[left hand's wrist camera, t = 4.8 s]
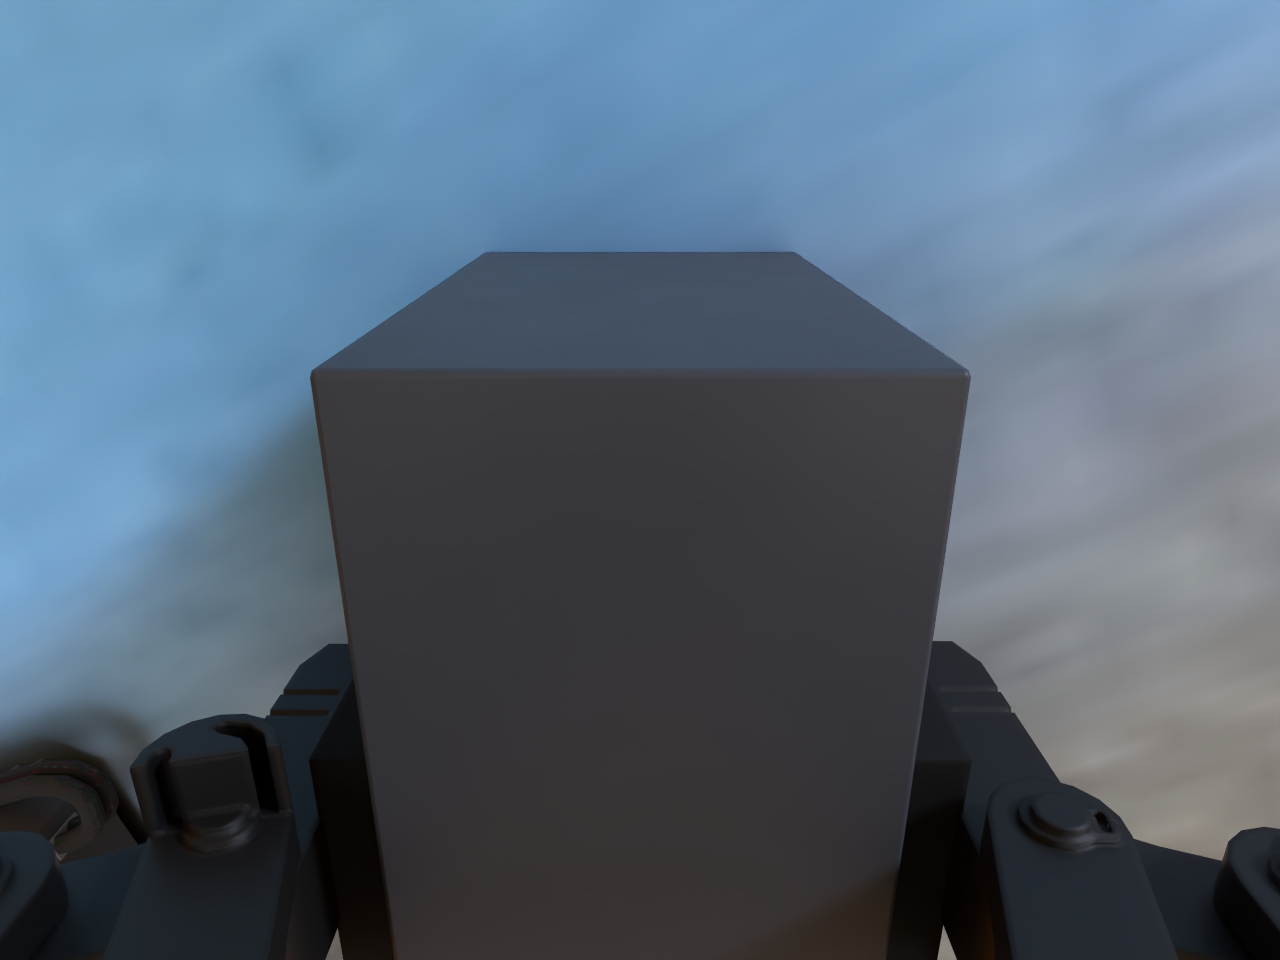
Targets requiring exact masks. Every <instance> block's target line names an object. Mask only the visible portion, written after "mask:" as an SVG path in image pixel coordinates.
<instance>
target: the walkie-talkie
mask: <svg viewBox="0 0 1280 960" xmlns="http://www.w3.org/2000/svg"><path fill="white" fill-rule="evenodd" d="M118 804H119V800H118V797H117V794H116V791H115V788H114V786H113V783H112V781H111V779H110V778H109V776H108V775H107V774H106V773H105V772H104V771H102V770H101V769H99V768H96V767H94V766H91V765H89V764H87V763H84V762H82V761H79V760H46V759H43V758H40V759H38V760H37V761H36V762H35V763H32V764H29V765H27V764H19V765H16V766H13V767H12V768H11V769H10V770H8V771H4V772H2V771H0V833H2V832H9V831H16V830H19V831H25V832H32V833H38V834H41V835H42V836H43V837H45V838H46V839H47V840H48V841H49V842H50V843H52V844H53V846H54V849H55V852H56V855H57V858H58V861H59V864H63V863H67V862H72V861H76V860H80V859H84V858H89V857H93V856H97V855H102V854H106V853H110V852H115V851H119V850H123V849H127V848H130V847H133V846H136V845H138V844H137V843H136V841H135V840H134V838H133V837H132V835H131V834H130V833H129V831H128V830H127V828H126V827H125V825H124V824H123V822H122V821H121V820H120V818H119V817H118V815H117V814H116V810H117V807H118Z"/></svg>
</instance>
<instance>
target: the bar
mask: <svg viewBox="0 0 1280 960" xmlns="http://www.w3.org/2000/svg"><path fill="white" fill-rule="evenodd" d="M970 378H971V376H970V373H969V370H967V369H966V368H964V367H963V366H961V365H960V364H958V363H957V362H955V361H954V360H952V359H951V358H950V357H948V356H947V355H945V354H944V353H942V352H941V351H939V350H938V349H936V348H935V347H933V346H932V345H930V344H929V343H927V342H926V341H925V340H923V339H922V338H920V337H919V336H917V335H916V334H914V333H913V332H911V331H910V330H908V329H907V328H905V327H904V326H902V325H901V324H900V323H898V322H897V321H895V320H894V319H892V318H891V317H889V316H888V315H886V314H885V313H883V312H882V311H880V310H879V309H877V308H876V307H875V306H873V305H872V304H870V303H869V302H867V301H866V300H864V299H863V298H861V297H860V296H858V295H857V294H855V293H854V292H852V291H851V290H850V289H848V288H847V287H845V286H844V285H842V284H841V283H839V282H838V281H836V280H835V279H833V278H832V277H830V276H829V275H827V274H826V273H825V272H823V271H822V270H820V269H819V268H817V267H816V266H814V265H813V264H811V263H810V262H808V261H807V260H805V259H804V258H802V257H801V256H800V255H798V254H796V253H794V252H486V253H484V254H482V255H481V256H480V257H478V258H477V259H475V260H474V261H472V262H471V263H469V264H468V265H466V266H465V267H463V268H462V269H460V270H459V271H457V272H456V273H455V274H453V275H452V276H450V277H449V278H447V279H446V280H444V281H443V282H441V283H440V284H438V285H437V286H435V287H434V288H433V289H431V290H430V291H428V292H427V293H425V294H424V295H422V296H421V297H419V298H418V299H416V300H415V301H413V302H412V303H411V304H409V305H408V306H406V307H405V308H403V309H402V310H400V311H399V312H397V313H396V314H394V315H393V316H391V317H390V318H388V319H387V320H386V321H384V322H383V323H381V324H380V325H378V326H377V327H375V328H374V329H372V330H371V331H369V332H368V333H366V334H365V335H364V336H362V337H361V338H359V339H358V340H356V341H355V342H353V343H352V344H350V345H349V346H347V347H346V348H344V349H343V350H342V351H340V352H339V353H337V354H336V355H334V356H333V357H331V358H330V359H328V360H327V361H325V362H324V363H322V364H321V365H319V366H318V367H317V368H315V369H314V370H312V372H311V376H310V380H311V386H312V393H313V400H314V407H315V414H316V421H317V428H318V435H319V442H320V449H321V456H322V463H323V470H324V477H325V483H326V490H327V497H328V504H329V511H330V518H331V525H332V532H333V539H334V546H335V553H336V560H337V567H338V573H339V580H340V587H341V594H342V601H343V608H344V615H345V622H346V629H347V636H348V643H349V650H350V657H351V663H352V670H353V677H354V684H355V691H356V698H357V705H358V712H359V719H360V726H361V733H362V740H363V747H364V754H365V760H366V767H367V774H368V781H369V788H370V795H371V802H372V809H373V816H374V823H375V830H376V837H377V844H378V851H379V857H380V864H381V871H382V878H383V885H384V892H385V899H386V906H387V913H388V920H389V927H390V934H391V941H392V947H393V954H394V960H886V959H887V952H888V945H889V938H890V931H891V924H892V917H893V910H894V903H895V897H896V890H897V883H898V876H899V869H900V862H901V855H902V848H903V841H904V834H905V827H906V821H907V814H908V807H909V800H910V793H911V786H912V779H913V772H914V765H915V758H916V751H917V745H918V738H919V731H920V724H921V717H922V710H923V703H924V696H925V689H926V682H927V675H928V669H929V662H930V655H931V648H932V641H933V634H934V627H935V620H936V613H937V606H938V599H939V593H940V586H941V579H942V572H943V565H944V558H945V551H946V544H947V537H948V530H949V523H950V516H951V510H952V503H953V496H954V489H955V482H956V475H957V468H958V461H959V454H960V447H961V440H962V434H963V427H964V420H965V413H966V406H967V399H968V392H969V385H970Z"/></svg>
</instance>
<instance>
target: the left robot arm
mask: <svg viewBox="0 0 1280 960" xmlns="http://www.w3.org/2000/svg"><path fill="white" fill-rule="evenodd" d="M129 769H130V773H131V776H132V780H133V784H134V787H135V791H136V795H137V799H138V802H139V806H140V810H141V813H142V817H143V821H144V825H145V828H146V832H147V836H148V838H147V841H146V843H143V844H140V845H136V846H133V847H130V848H127V849H123V850H119V851H115V852H110V853H106V854H102V855H97V856H93V857H89V858H84V859H80V860H76V861H72V862H67V863H63V864H59V861H58V858H57V855H56V852H55V849H54V846H53V844H52V843H50V842H49V841H48V840H47V839H46V838H45V837H43V836H42V835H41V834H38V833H32V832H25V831H19V830H16V831H9V832H2V833H0V960H325V959H326V956H327V954H328V951H329V949H330V946H331V943H332V941H333V938H334V936H335V933H336V931H337V928H338V932H339V937H340V943H341V949H342V955H343V960H394V954H393V947H392V941H391V934H390V927H389V920H388V913H387V906H386V899H385V892H384V885H383V878H382V871H381V864H380V857H379V851H378V844H377V837H376V830H375V823H374V816H373V809H372V802H371V795H370V788H369V781H368V774H367V767H366V760H365V754H364V747H363V740H362V733H361V726H360V719H359V712H358V705H357V698H356V691H355V684H354V677H353V670H352V663H351V657H350V650H349V644H328V645H327V646H325V647H324V648H323V649H321V650H320V651H318V652H317V653H316V654H314V655H313V656H312V657H310V658H309V659H308V660H306V661H305V662H304V663H302V664H301V665H300V666H299V667H298V669H297V670H296V672H295V673H294V675H293V676H292V678H291V679H290V681H289V683H288V684H287V686H286V687H285V689H284V694H283V695H280V696H279V698H278V699H277V701H276V702H275V704H274V705H273V707H272V708H271V710H270V716H266V718H265V719H263V718H259V717H255V716H251V715H248V714H230V715H217V716H213V717H209V718H205V719H201V720H197V721H193V722H190V723H188V724H186V725H183V726H181V727H179V728H177V729H175V730H172V731H170V732H168V733H166V734H164V735H163V736H161V737H160V738H159V739H157V740H156V741H154V742H153V743H152V744H150V745H149V746H148V747H146V748H145V749H144V750H143V751H142V752H141V753H140V755H139V756H138V757H137V759H136V760H135V761H134V763H133V764H132V765H131V767H130V768H129ZM943 925H944V928H945V930H946V933H947V935H948V938H949V940H950V943H951V946H952V948H953V951H954V953H955V956H956V958H957V960H1280V829H1276V828H1269V827H1260V828H1254V829H1248V830H1241V831H1240V832H1239V833H1238V834H1237V835H1236V836H1234V837H1233V838H1232V839H1231V840H1230V841H1229V842H1228V845H1227V848H1226V851H1225V854H1224V857H1223V860H1222V861H1220V860H1215V859H1211V858H1207V857H1202V856H1198V855H1194V854H1190V853H1185V852H1181V851H1177V850H1172V849H1168V848H1164V847H1159V846H1156V845H1152V844H1149V843H1146V842H1143V841H1139V840H1136V839H1133V837H1132V835H1131V833H1130V832H1129V830H1128V829H1127V827H1126V826H1125V824H1124V823H1123V821H1122V819H1121V818H1120V817H1119V816H1118V815H1117V814H1116V813H1115V812H1113V811H1112V810H1111V809H1110V808H1109V807H1107V806H1106V805H1105V804H1104V803H1103V802H1101V801H1100V800H1099V799H1097V798H1095V797H1093V796H1091V795H1089V794H1087V793H1085V792H1083V791H1081V790H1079V789H1078V788H1076V787H1074V786H1070V785H1067V784H1063V783H1060V781H1059V780H1058V778H1057V777H1056V775H1055V774H1054V772H1053V771H1052V769H1051V768H1050V766H1049V765H1048V763H1047V761H1046V760H1045V758H1044V757H1043V755H1042V754H1041V752H1040V751H1039V749H1038V748H1037V746H1036V745H1035V743H1034V742H1033V740H1032V739H1031V737H1030V736H1029V734H1028V733H1027V731H1026V730H1025V728H1024V727H1023V725H1022V724H1021V722H1020V721H1019V719H1018V718H1017V716H1016V715H1015V713H1011V707H1010V705H1009V704H1008V702H1007V701H1006V699H1005V698H1004V696H1003V695H1002V693H1001V692H998V691H997V686H996V684H995V683H994V681H993V680H992V678H991V677H990V675H989V674H988V672H987V671H986V669H985V668H984V666H983V665H982V663H981V662H980V661H978V660H977V659H976V658H974V657H973V656H971V655H970V654H969V653H967V652H966V651H965V650H963V649H962V648H961V647H959V646H958V645H956V644H955V643H954V642H952V641H932V648H931V655H930V662H929V669H928V675H927V682H926V689H925V696H924V703H923V710H922V717H921V724H920V731H919V738H918V745H917V751H916V758H915V765H914V772H913V779H912V786H911V793H910V800H909V807H908V814H907V821H906V827H905V834H904V841H903V848H902V855H901V862H900V869H899V876H898V883H897V890H896V897H895V903H894V910H893V917H892V924H891V931H890V938H889V945H888V952H887V959H886V960H937V958H938V952H939V946H940V940H941V935H942V929H943Z"/></svg>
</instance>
